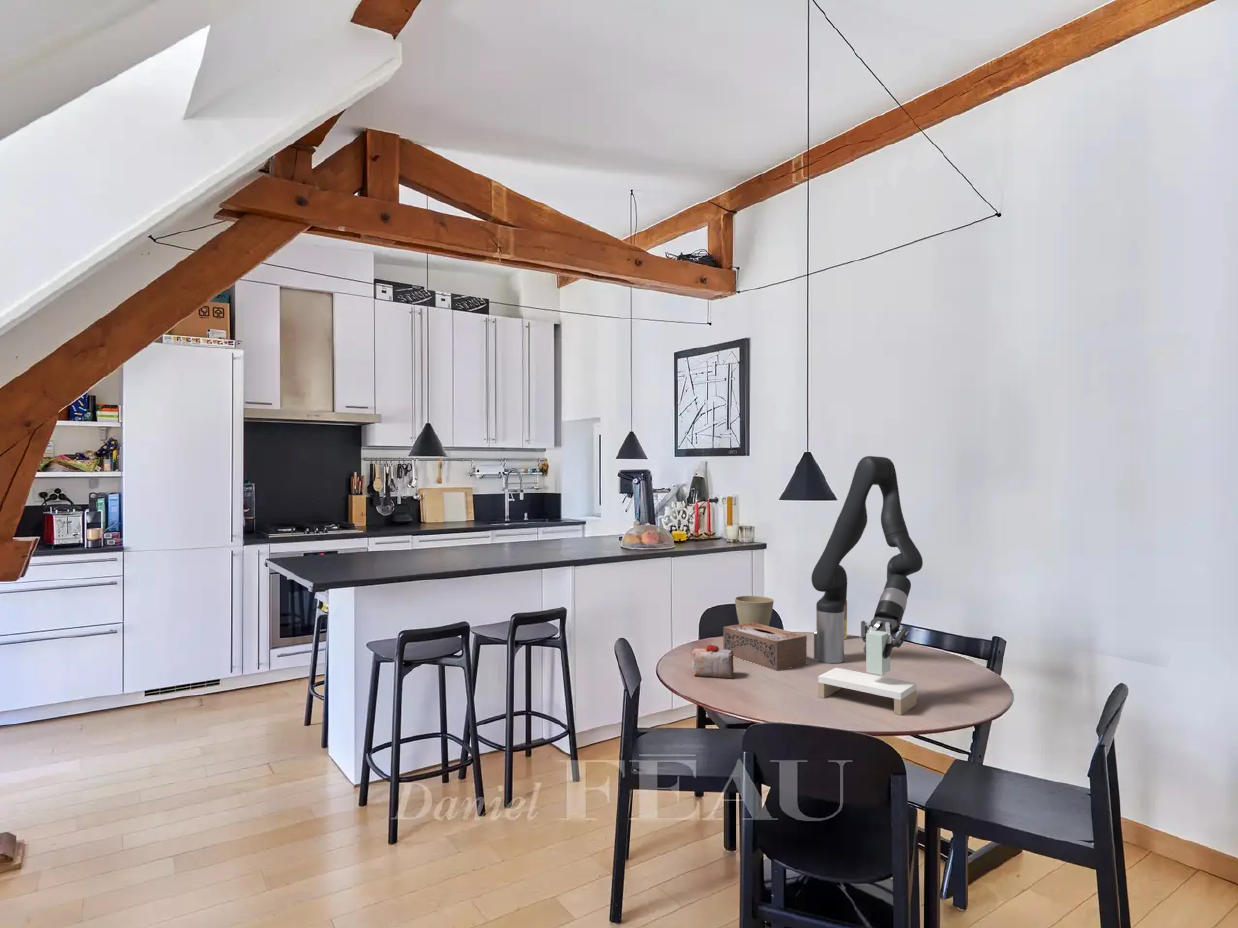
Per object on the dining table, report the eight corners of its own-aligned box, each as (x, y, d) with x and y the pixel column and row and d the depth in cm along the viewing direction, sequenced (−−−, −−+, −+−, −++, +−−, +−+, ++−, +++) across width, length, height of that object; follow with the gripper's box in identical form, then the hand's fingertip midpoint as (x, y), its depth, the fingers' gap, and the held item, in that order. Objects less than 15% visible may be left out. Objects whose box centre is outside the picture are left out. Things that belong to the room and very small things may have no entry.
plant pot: (765, 646, 270) (765, 603, 270) (728, 641, 279) (728, 599, 279) (779, 638, 283) (779, 597, 283) (744, 633, 291) (744, 594, 291)
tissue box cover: (723, 654, 260) (723, 626, 260) (752, 649, 268) (752, 622, 268) (776, 671, 238) (776, 641, 238) (806, 664, 246) (806, 635, 246)
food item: (689, 677, 231) (689, 646, 231) (693, 670, 239) (693, 640, 239) (732, 680, 228) (732, 649, 228) (734, 673, 236) (734, 643, 236)
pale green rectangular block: (866, 672, 206) (866, 633, 206) (874, 667, 211) (874, 629, 211) (882, 674, 203) (881, 635, 203) (890, 670, 208) (889, 632, 208)
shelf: (818, 696, 212) (818, 675, 212) (835, 687, 221) (836, 667, 221) (900, 715, 196) (900, 693, 196) (916, 704, 205) (916, 683, 205)
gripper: (864, 596, 217) (847, 644, 208) (912, 602, 208) (897, 652, 199) (871, 611, 221) (855, 658, 212) (919, 617, 212) (904, 667, 203)
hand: (875, 655), depth 206 cm, fingers closed on pale green rectangular block, 4 cm apart
